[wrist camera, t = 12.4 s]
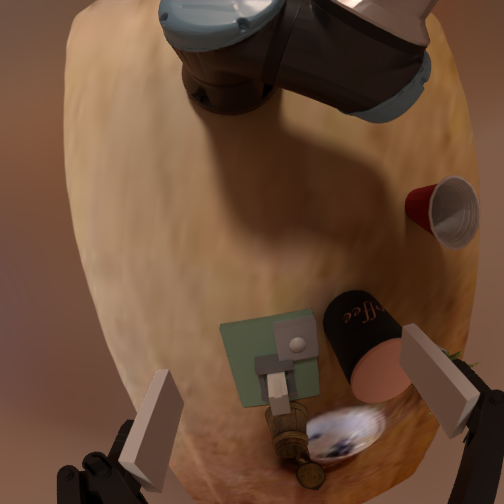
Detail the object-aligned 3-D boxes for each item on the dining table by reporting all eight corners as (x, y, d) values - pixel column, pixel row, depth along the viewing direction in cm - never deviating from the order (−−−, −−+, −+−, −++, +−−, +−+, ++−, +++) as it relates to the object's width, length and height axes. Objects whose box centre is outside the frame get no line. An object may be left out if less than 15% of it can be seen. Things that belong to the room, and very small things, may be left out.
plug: (265, 359, 49) (268, 396, 39) (281, 357, 48) (287, 393, 39) (269, 378, 50) (272, 415, 40) (284, 375, 50) (290, 412, 40)
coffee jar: (383, 292, 47) (435, 342, 30) (364, 342, 50) (401, 402, 32) (331, 282, 47) (371, 337, 29) (314, 336, 49) (339, 403, 32)
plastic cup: (427, 164, 41) (470, 164, 30) (445, 217, 44) (486, 230, 32) (383, 188, 42) (421, 193, 31) (404, 244, 45) (442, 263, 33)
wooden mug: (290, 438, 57) (299, 497, 40) (257, 412, 54) (259, 478, 37) (322, 422, 56) (338, 482, 38) (291, 394, 53) (303, 462, 35)
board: (220, 324, 48) (217, 340, 43) (311, 308, 48) (317, 323, 42) (243, 402, 53) (242, 420, 48) (318, 390, 53) (323, 407, 47)
